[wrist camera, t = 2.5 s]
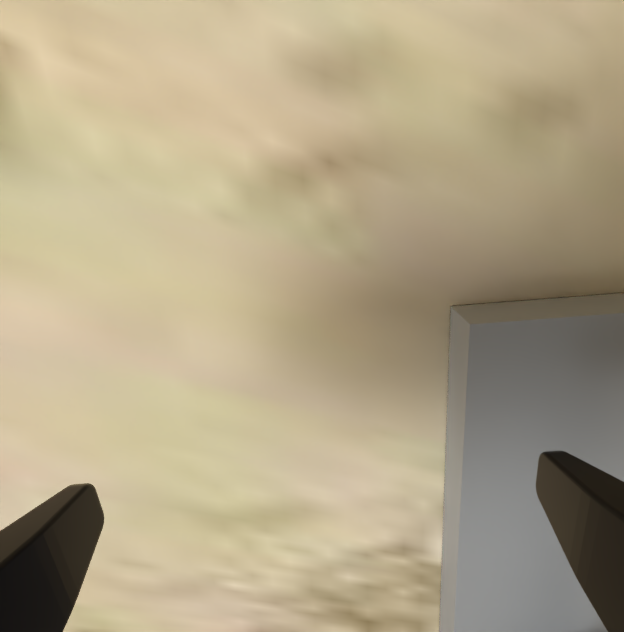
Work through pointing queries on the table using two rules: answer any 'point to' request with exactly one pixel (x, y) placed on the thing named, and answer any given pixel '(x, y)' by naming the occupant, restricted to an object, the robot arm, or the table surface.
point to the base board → (524, 454)
